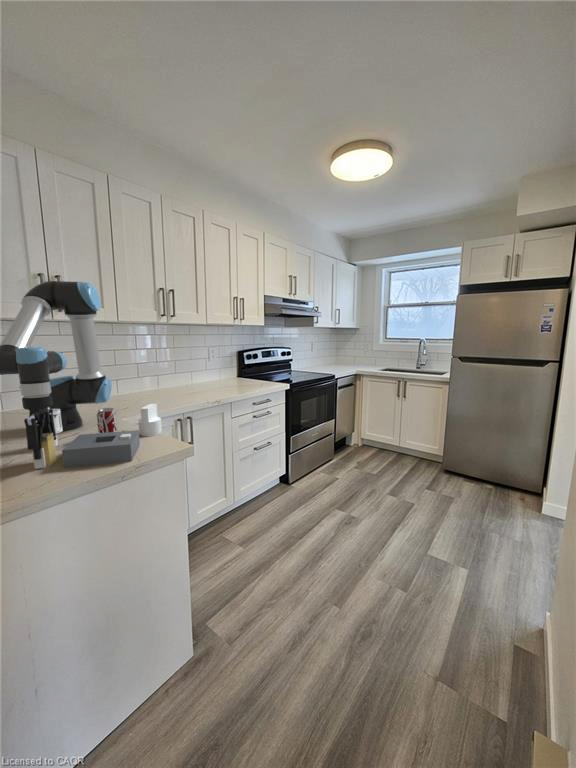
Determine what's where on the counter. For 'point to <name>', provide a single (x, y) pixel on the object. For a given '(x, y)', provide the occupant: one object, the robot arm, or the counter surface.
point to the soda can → (107, 420)
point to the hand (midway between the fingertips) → (45, 463)
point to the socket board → (101, 448)
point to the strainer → (57, 423)
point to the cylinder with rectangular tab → (149, 421)
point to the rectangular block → (48, 448)
